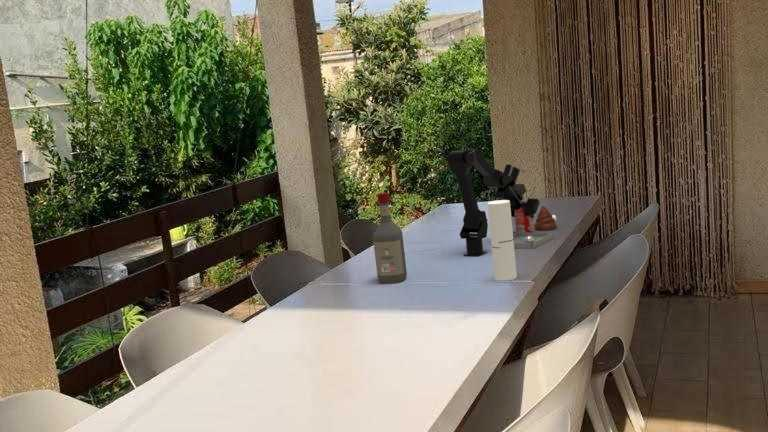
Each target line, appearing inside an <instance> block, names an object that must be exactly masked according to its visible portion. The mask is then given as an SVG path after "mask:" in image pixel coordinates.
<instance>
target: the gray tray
mask: <svg viewBox="0 0 768 432" xmlns="http://www.w3.org/2000/svg"><path fill="white" fill-rule="evenodd" d="M554 234H555V233H554V232H533V233H521V232H516V231H515V232H514V233H513V241H514V249H525V250H527V249H529V250H533V249H535V248H538V247H539V246H541V245H543V244H545V243H547V242H549V241H551V240H553V239H555V235H554ZM528 235H530V236H532V237H533V238H534V242H533V243H525V241H524V239H525V237H526V236H528Z"/></svg>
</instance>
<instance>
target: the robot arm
mask: <svg viewBox="0 0 768 432" xmlns="http://www.w3.org/2000/svg"><path fill="white" fill-rule="evenodd" d="M446 161H447V165H448V168H449V169H450V171H451V172H452V173H453V175H454V176H455V177H456V180H457V184H458V189H459V192H460V196H461V200H462V203H463V207H464V212H465V213H464V216H463V218H462V221H463V225H462V227H461V229H460V232H459V236H460V239H461V240H464V239H465V242H466V243H465V245H466V253H463V256H464V257H466V256H467V257H470V256H471V257H480V256H483V255H484V254H486V253H488V251H487V250H484V244H483V239H485V238H487V237H488V235H487V234H488V226H489V224H488V221H489V219H488V218H487V214H486V211H485V210H481V209H479V205H478V201H477V197H476V194H475V190H474V185H473V181H472V177H471V170H472V166H473V167H474V168H475V169H476V170H477V171H478V172H479V173H480V175H482V177H483V182H484V183H485V185H486V186H487V188H488V189H495V191H494V195H493V196H494V197H493V198H494V199H496V200H495V201H497V200H509V201H510V208H511V218H514V219H515V215H514V210H518V209H519V208H524V209H525V215H526V216H528V217H530V218H532V219H533V220H534V218H535V214H537V211H538V208H539V206H540V200H539V199H538V198H534V197H530V198H528V199H527V200H526V201H523V200H524V195H525V193H527V189H526V186H525V184H524V183H517V180H518V178H519V175H520V173H521V171H520V169H519V168H517V167H516V166H513V165H512V164H505V166H504V170H503V171H501V170H499V169H497V168H494V167H493V164H491V163H490V162H489V161H488V160H487V159H486V157H485V156H484V155H483V153H481V150H480V149H478V148H467V149H465V150H452V151H450V152H449V153H448V155H447V158H446Z"/></svg>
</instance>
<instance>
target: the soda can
mask: <svg viewBox="0 0 768 432" xmlns="http://www.w3.org/2000/svg"><path fill="white" fill-rule="evenodd" d="M514 215H515V218H514V224H515V225H514V226H515V233H516V232H521V233H534V218H533V219H532V218H530V217H528V216H526V215H525V209H524V208H519V209H518V210H514Z"/></svg>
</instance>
